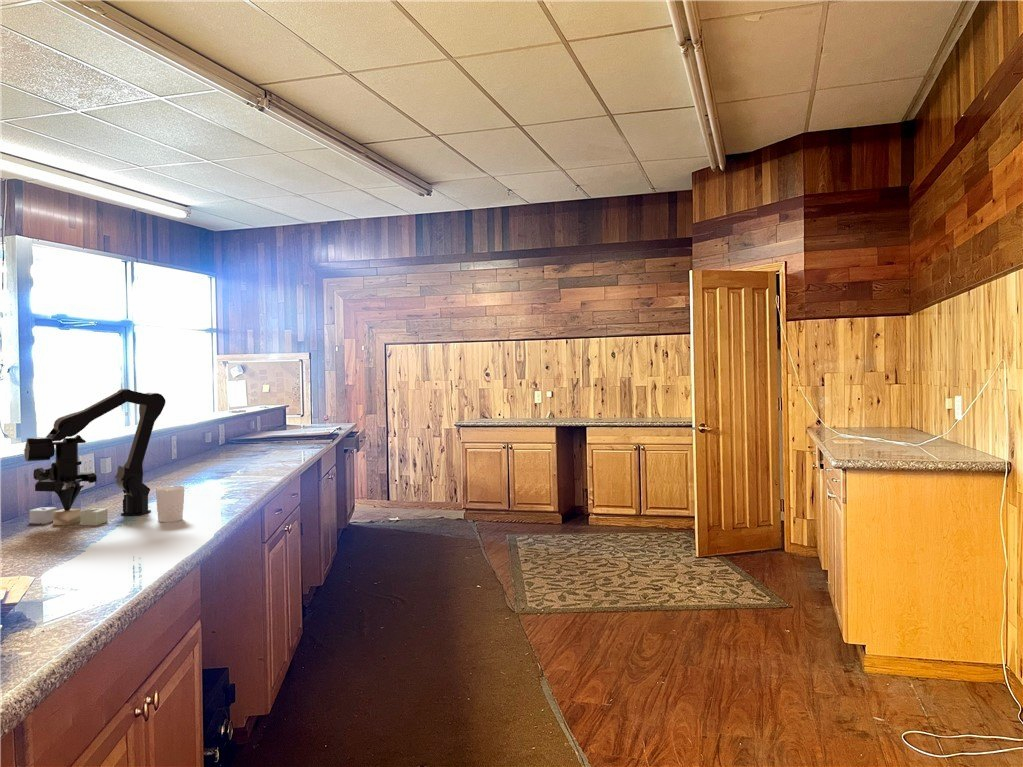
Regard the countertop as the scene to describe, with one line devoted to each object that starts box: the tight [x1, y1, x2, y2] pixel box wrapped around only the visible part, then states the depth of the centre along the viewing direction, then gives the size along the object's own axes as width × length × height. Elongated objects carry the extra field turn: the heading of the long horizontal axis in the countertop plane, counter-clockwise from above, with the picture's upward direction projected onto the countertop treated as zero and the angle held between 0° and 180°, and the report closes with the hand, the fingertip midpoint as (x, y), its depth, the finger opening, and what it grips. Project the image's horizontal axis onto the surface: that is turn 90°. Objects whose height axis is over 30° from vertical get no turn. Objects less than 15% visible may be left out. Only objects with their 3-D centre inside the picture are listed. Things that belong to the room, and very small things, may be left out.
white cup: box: [155, 485, 185, 523], centre depth 216 cm, size 8×8×10 cm
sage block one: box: [80, 508, 109, 526], centre depth 211 cm, size 5×5×4 cm
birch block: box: [52, 508, 82, 526], centre depth 210 cm, size 5×5×4 cm
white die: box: [28, 506, 58, 525], centre depth 212 cm, size 5×5×4 cm
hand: (67, 510), depth 210 cm, fingers closed
